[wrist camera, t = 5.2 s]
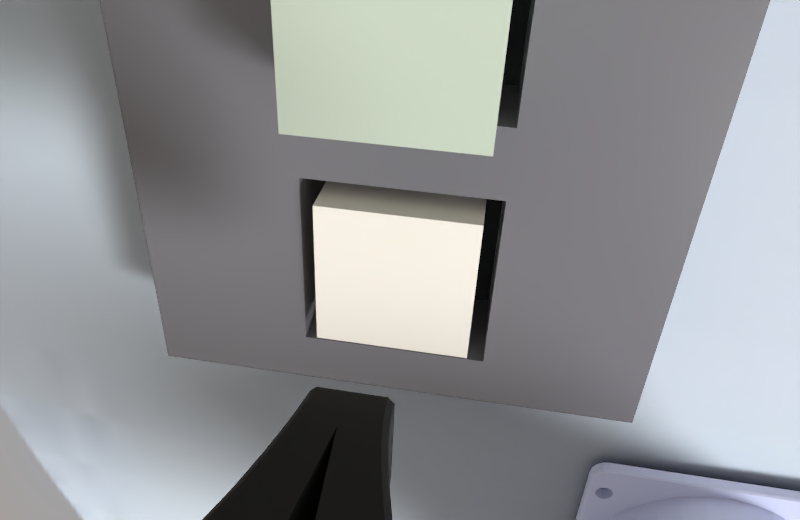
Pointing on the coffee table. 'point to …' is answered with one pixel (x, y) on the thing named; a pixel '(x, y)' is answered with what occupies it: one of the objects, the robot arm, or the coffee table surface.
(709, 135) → the grey slotted board
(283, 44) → the sage key
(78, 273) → the coffee table surface
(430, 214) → the ivory key
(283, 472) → the robot arm
